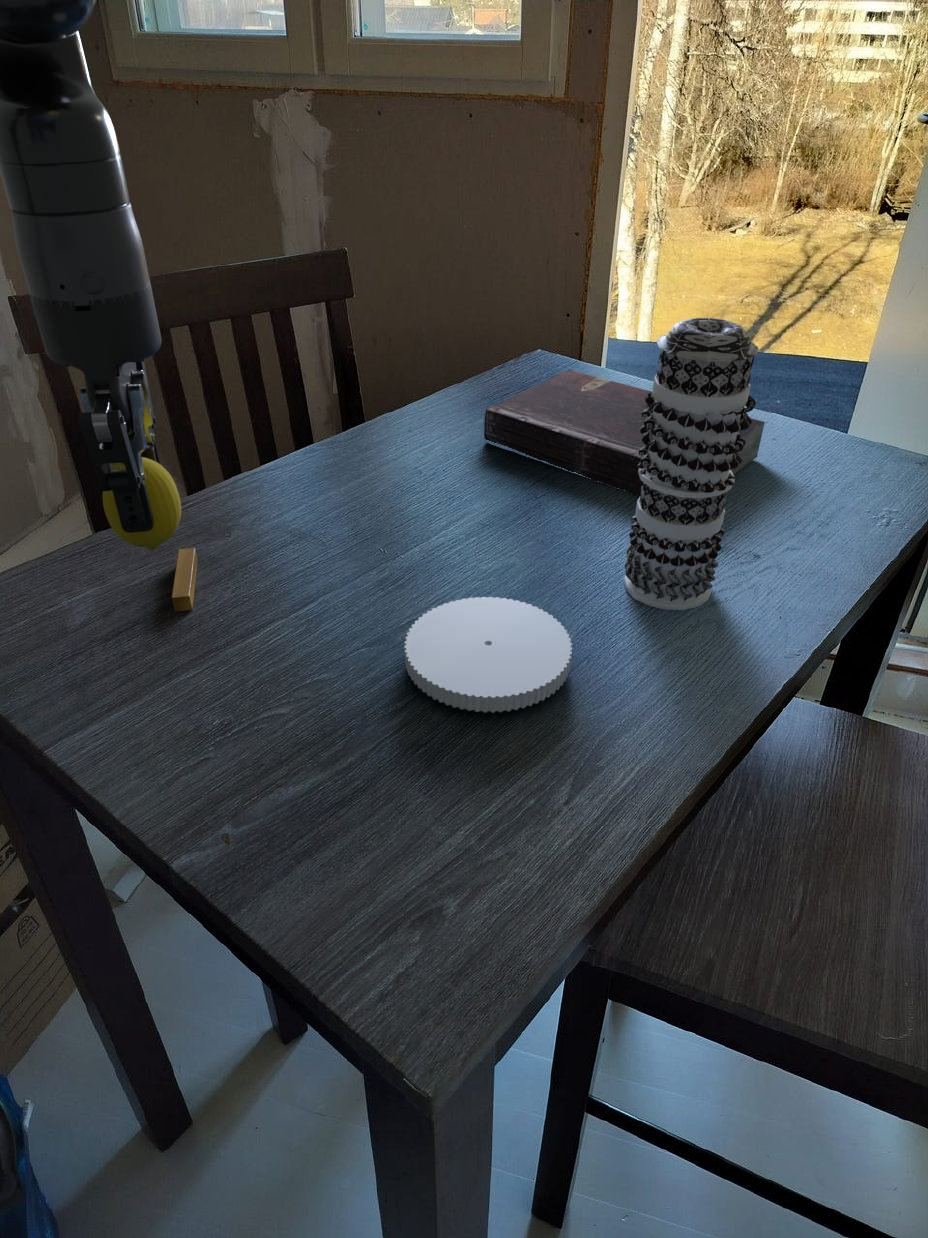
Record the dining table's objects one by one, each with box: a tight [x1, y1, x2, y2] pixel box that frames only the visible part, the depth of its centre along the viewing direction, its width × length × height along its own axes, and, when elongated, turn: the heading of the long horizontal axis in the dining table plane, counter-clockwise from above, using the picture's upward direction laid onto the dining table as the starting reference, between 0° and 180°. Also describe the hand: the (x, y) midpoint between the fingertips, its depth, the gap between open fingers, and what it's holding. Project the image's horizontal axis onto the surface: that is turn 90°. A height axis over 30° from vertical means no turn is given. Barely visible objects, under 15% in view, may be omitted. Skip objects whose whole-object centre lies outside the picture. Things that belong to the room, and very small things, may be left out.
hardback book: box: [483, 369, 766, 497], centre depth 107 cm, size 29×19×5 cm, turn 50°
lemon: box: [102, 457, 182, 551], centre depth 65 cm, size 6×6×8 cm
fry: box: [171, 547, 199, 613], centre depth 82 cm, size 2×9×2 cm, turn 11°
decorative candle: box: [623, 317, 760, 611], centre depth 76 cm, size 9×9×25 cm
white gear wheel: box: [403, 596, 573, 713], centre depth 72 cm, size 14×14×2 cm
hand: (143, 509), depth 65 cm, fingers closed on lemon, 5 cm apart
